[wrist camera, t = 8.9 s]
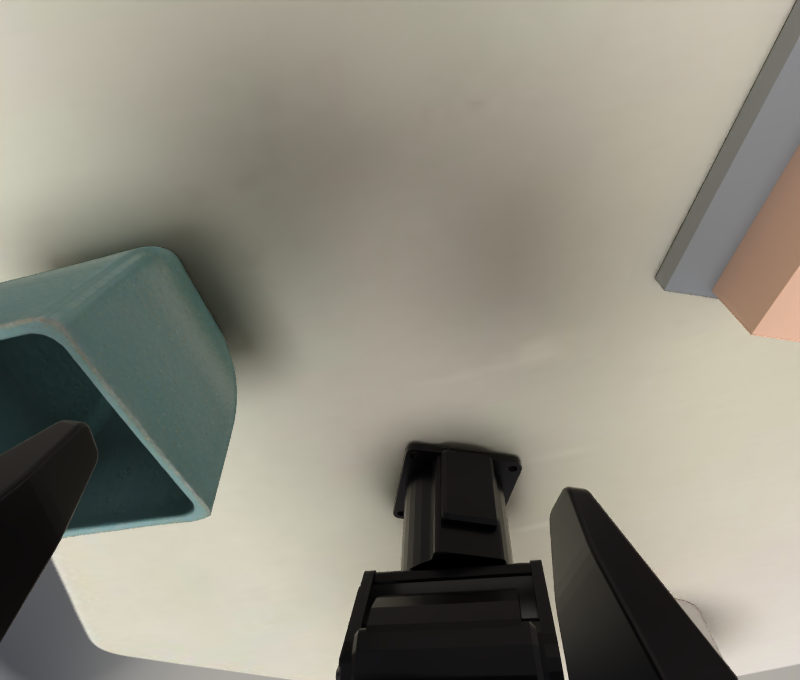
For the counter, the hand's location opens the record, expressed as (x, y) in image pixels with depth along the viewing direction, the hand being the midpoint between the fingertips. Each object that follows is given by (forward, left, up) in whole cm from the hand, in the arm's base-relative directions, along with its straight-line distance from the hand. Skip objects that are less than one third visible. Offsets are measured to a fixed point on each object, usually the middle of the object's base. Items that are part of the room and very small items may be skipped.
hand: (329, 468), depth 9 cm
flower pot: (-6, +10, -13) cm, 17 cm away
